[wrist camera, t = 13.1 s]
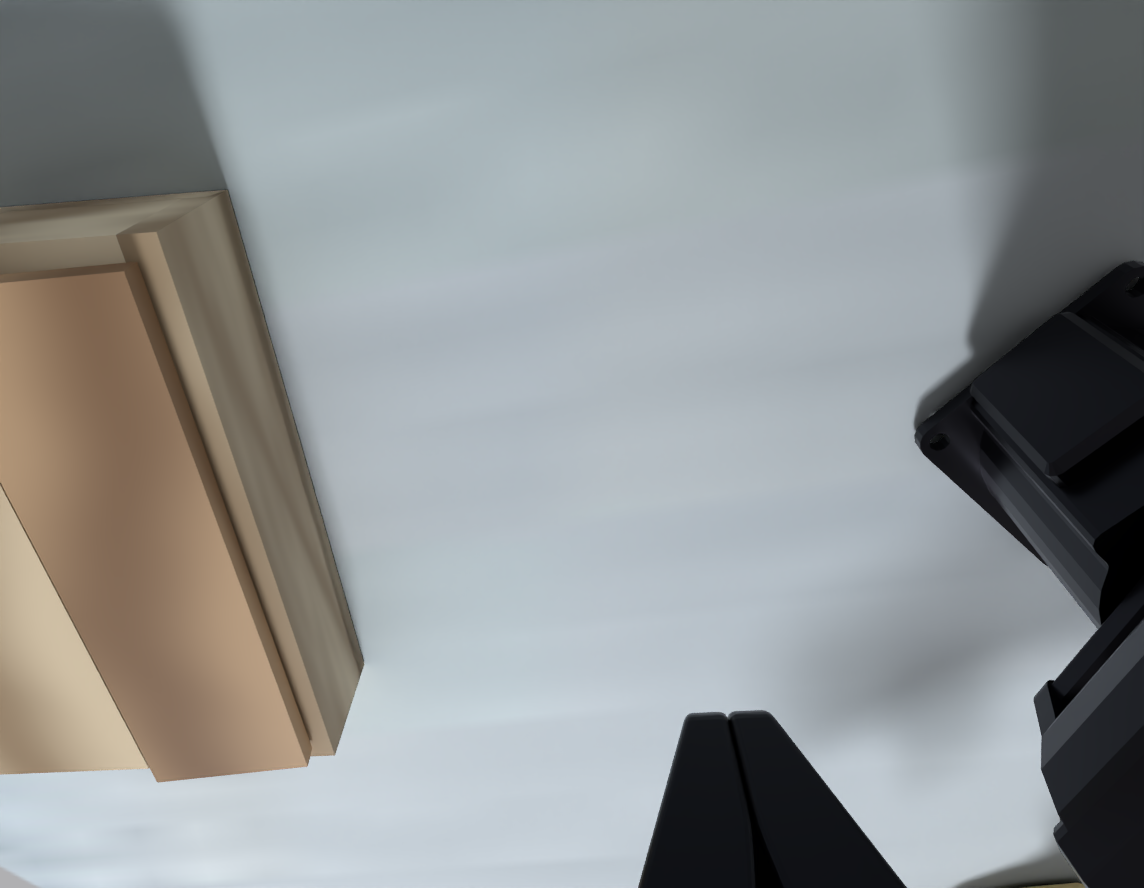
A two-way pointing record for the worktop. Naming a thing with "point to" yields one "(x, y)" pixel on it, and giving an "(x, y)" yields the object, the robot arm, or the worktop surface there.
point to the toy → (1060, 886)
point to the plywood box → (237, 458)
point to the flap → (137, 525)
